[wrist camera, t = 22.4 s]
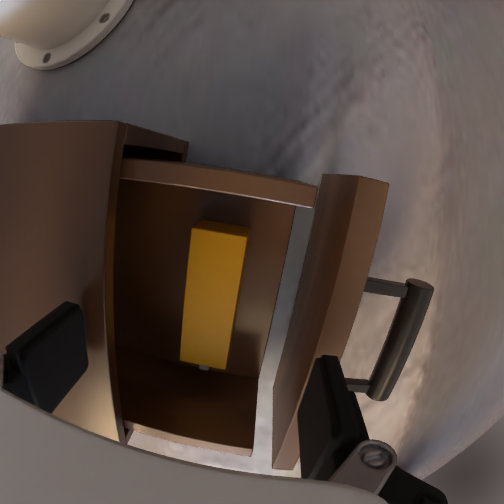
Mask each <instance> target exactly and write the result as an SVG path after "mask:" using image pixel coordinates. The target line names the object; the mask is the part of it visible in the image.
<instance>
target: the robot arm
mask: <svg viewBox="0 0 504 504" xmlns="http://www.w3.org/2000/svg"><path fill="white" fill-rule="evenodd" d="M132 2H133V0H0V36H2V37H5V38H8V39H10V40H13V41H14V47H15V51H16V55H17V56H18V58H19V60H20V61H21V62H22V63H23V64H25V65H26V66H29V67H31V68H34V69H39V70H50V69H55V68H58V67H62V66H65V65H67V64H69V63H71V62H72V61H74V60H77V59H78V58H80V57H81V56H82V55H84V54H85V53H87V52H88V51H90V50H91V49H92V48H93V47H95V46H96V45H97V44H98V43H99V42H101V41H102V40H103V39H104V38H105V37H106V36H107V35H108V34H109V33H110V32H111V31H112V30H113V29H114V27H115V26H116V25H117V24H118V22H119V21H120V20H121V19H122V18H123V16H124V15H125V13H126V12H127V10H128V9H129V7H130V6H131V4H132ZM5 348H6V352H7V353H6V354H3V353H2V351H0V504H448V502H447V499H446V496H445V495H444V494H443V493H442V492H441V491H440V490H438V489H437V488H435V487H433V486H431V485H429V484H427V483H425V482H423V481H422V480H420V479H418V478H416V477H414V476H413V475H411V474H409V473H407V472H405V471H404V470H402V469H400V468H398V467H397V466H396V463H397V455H396V453H395V451H394V449H393V448H392V447H391V446H390V445H388V444H387V443H385V442H382V441H379V440H373V439H372V440H370V439H369V436H368V433H367V429H366V426H365V423H364V420H363V417H362V413H361V410H360V407H359V404H358V401H357V398H356V395H355V393H354V392H353V391H348V387H347V384H346V381H345V378H344V375H343V372H342V368H341V365H340V362H339V359H338V357H337V356H332V355H322V356H321V357H320V358H316V359H315V362H314V365H313V368H312V371H311V374H310V377H309V380H308V383H307V386H306V388H305V391H304V394H303V397H302V400H301V403H300V405H299V408H298V412H297V422H298V435H299V449H300V463H301V478H293V477H282V476H272V475H263V474H255V473H248V472H241V471H235V470H228V469H222V468H217V467H211V466H206V465H201V464H197V463H192V462H188V461H183V460H179V459H175V458H171V457H167V456H164V455H160V454H156V453H153V452H149V451H146V450H143V449H139V448H136V447H133V446H130V445H127V444H124V443H121V442H118V441H115V440H112V439H110V438H107V437H104V436H101V435H99V434H96V433H94V432H91V431H89V430H86V429H84V428H81V427H79V426H77V425H74V424H72V423H70V422H67V421H65V420H63V419H61V418H59V417H57V416H54V415H52V413H53V411H54V410H55V409H56V407H57V406H58V405H59V404H60V402H61V401H62V400H63V399H64V397H65V396H66V395H67V394H68V392H69V391H70V390H71V389H72V388H73V386H74V385H75V384H76V383H77V381H78V380H79V379H80V378H81V377H82V375H83V374H84V373H85V372H86V370H87V369H88V365H89V361H88V354H87V346H86V338H85V328H84V318H83V311H82V309H80V306H79V305H78V304H75V303H72V302H69V301H65V302H63V303H62V304H61V305H59V306H58V307H57V308H55V309H54V310H53V311H51V312H50V313H49V314H47V315H46V316H45V317H43V318H42V319H41V320H39V321H38V322H37V323H35V324H34V325H33V326H31V327H30V328H29V329H27V330H26V331H25V332H24V333H22V334H21V335H20V336H18V337H17V338H16V339H15V340H13V341H12V342H11V343H10V344H8V345H7V346H6V347H5Z"/></svg>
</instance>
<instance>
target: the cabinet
mask: <svg viewBox="0 0 504 504" xmlns="http://www.w3.org/2000/svg"><path fill="white" fill-rule="evenodd" d="M188 144H189V142H187V141H184V140H181V139H177V138H174V137H171V136H168V135H165V134H162V133H158V132H155V131H152V130H149V129H145V128H142V127H138V126H135V125H131V124H128V123H124V122H121V121H112V120H68V121H42V122H27V123H14V124H4V125H0V351H2V353H3V354H6V353H7V352H6V348H5V347H6V346H7V345H8V344H10V343H11V342H12V341H13V340H15V339H16V338H17V337H18V336H20V335H21V334H22V333H24V332H25V331H26V330H27V329H29V328H30V327H31V326H33V325H34V324H35V323H37V322H38V321H39V320H41V319H42V318H43V317H45V316H46V315H47V314H49V313H50V312H51V311H53V310H54V309H55V308H57V307H58V306H59V305H61V304H62V303H63V302H65V301H69V302H72V303H75V304H78V305H79V306H80V309H82V311H83V318H84V328H85V338H86V346H87V354H88V361H89V365H88V369H87V370H86V372H85V373H84V374H83V375H82V377H81V378H80V379H79V380H78V381H77V383H76V384H75V385H74V386H73V388H72V389H71V390H70V391H69V392H68V394H67V395H66V396H65V397H64V399H63V400H62V401H61V402H60V404H59V405H58V406H57V407H56V409H55V410H54V411H53V413H52V415H54V416H57V417H59V418H61V419H63V420H65V421H67V422H70V423H72V424H74V425H77V426H79V427H81V428H84V429H86V430H89V431H91V432H94V433H96V434H99V435H101V436H104V437H107V438H110V439H112V440H115V441H118V442H121V443H124V444H127V443H128V441H129V439H130V437H131V435H132V433H133V431H134V430H131V429H128V428H125V427H124V426H123V420H122V413H121V405H120V397H119V388H118V379H117V368H116V355H115V339H114V314H113V263H114V238H115V221H116V208H117V197H118V187H119V178H120V169H121V162H122V156H131V157H142V158H152V159H161V160H170V161H179V162H186V157H187V150H188Z"/></svg>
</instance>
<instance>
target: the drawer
mask: <svg viewBox="0 0 504 504" xmlns="http://www.w3.org/2000/svg"><path fill="white" fill-rule="evenodd" d="M388 189H389V183H386V182H383V181H379V180H375V179H371V178H367V177H363V176H357V175H341V174H322V179H321V184H320V190H319V195H318V200H317V205H316V210H315V215H314V220H313V225H312V229H311V234H310V239H309V244H308V248H307V253H306V257H305V262H304V266H303V271H302V275H301V279H300V284H299V288H298V292H297V296H296V301H295V305H294V309H293V313H292V317H291V321H290V325H289V329H288V333H287V337H286V341H285V345H284V348H283V352H282V356H281V360H280V363H279V367H278V371H277V374H276V378H275V382H274V385H273V435H272V469H280V470H293V468H294V466H295V464H296V462H297V460H298V458H299V456H300V449H299V435H298V422H297V412H298V408H299V405H300V403H301V400H302V397H303V394H304V391H305V388H306V386H307V383H308V380H309V377H310V374H311V371H312V368H313V365H314V362H315V359H316V358H320V357H321V356H322V355H332V356H337V357H338V359H339V362H340V360H341V358H342V355H343V352H344V349H345V346H346V344H347V341H348V338H349V335H350V332H351V329H352V326H353V323H354V320H355V317H356V314H357V311H358V307H359V304H360V301H361V298H362V294H363V292H369V293H375V294H382V295H388V296H394V297H401V298H400V301H399V304H398V307H397V310H396V313H395V316H394V319H393V321H392V324H391V327H390V329H389V332H388V335H387V337H386V340H385V342H384V345H383V348H382V350H381V353H380V355H379V357H378V360H377V362H376V365H375V367H374V369H373V372H372V374H371V376H370V378H369V381H368V380H367V379H352V378H345V381H346V384H347V387H348V391H353V392H361V393H366V395H367V396H368V397H369V398H371V399H373V400H376V401H385V400H387V399H388V398H389V396H390V394H391V392H392V390H393V388H394V386H395V384H396V382H397V380H398V378H399V376H400V374H401V372H402V369H403V367H404V365H405V363H406V361H407V358H408V356H409V354H410V352H411V349H412V347H413V345H414V342H415V340H416V337H417V335H418V333H419V330H420V327H421V325H422V322H423V320H424V317H425V314H426V312H427V309H428V306H429V303H430V301H431V298H432V295H433V292H434V287H433V286H432V285H430V284H429V283H426V282H424V281H421V280H418V279H413V278H409V279H407V280H406V283H405V284H404V283H400V282H394V281H388V280H382V279H377V278H371V277H368V273H369V270H370V266H371V263H372V259H373V255H374V251H375V247H376V243H377V239H378V235H379V231H380V226H381V222H382V218H383V213H384V209H385V204H386V199H387V194H388ZM317 190H318V188H317V187H316V186H313V185H310V184H307V183H304V182H301V181H298V180H293V179H288V178H283V177H277V176H272V175H266V174H261V173H255V172H249V171H243V170H236V169H230V168H223V167H216V166H209V165H202V164H195V163H187V162H179V161H170V160H161V159H152V158H142V157H131V156H122V162H121V169H120V178H119V187H118V197H117V208H116V221H115V238H114V263H113V314H114V339H115V355H116V368H117V379H118V388H119V397H120V405H121V413H122V420H123V426H124V427H125V428H128V429H131V430H134V431H137V432H140V433H143V434H147V435H150V436H154V437H157V438H161V439H164V440H168V441H172V442H176V443H180V444H184V445H188V446H193V447H197V448H202V449H207V450H212V451H217V452H223V453H229V454H235V455H241V456H248V457H251V455H252V452H253V446H254V433H255V420H256V407H257V393H258V379H259V375H260V370H261V366H262V362H263V358H264V353H265V349H266V345H267V340H268V336H269V332H270V327H271V323H272V318H273V314H274V309H275V305H276V300H277V295H278V291H279V286H280V281H281V277H282V272H283V267H284V262H285V258H286V253H287V248H288V243H289V238H290V233H291V228H292V223H293V218H294V212H295V207H296V206H300V207H305V208H310V209H312V208H314V206H315V200H316V195H317ZM202 220H207V221H213V222H219V223H225V224H231V225H237V226H243V227H248V228H250V229H251V230H250V236H249V241H248V247H247V253H246V259H245V265H244V271H243V277H242V283H241V289H240V295H239V301H238V307H237V313H236V319H235V325H234V332H233V338H232V344H231V349H230V354H229V358H228V363H227V367H226V369H225V370H224V369H219V368H213V367H209V370H208V371H207V370H202V369H199V364H194V363H190V362H185V361H181V360H180V346H181V331H182V318H183V306H184V295H185V285H186V274H187V265H188V256H189V247H190V238H191V230H192V227H194V226H195V225H196V224H198V223H199V222H200V221H202Z"/></svg>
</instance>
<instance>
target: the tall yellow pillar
mask: <svg viewBox="0 0 504 504" xmlns="http://www.w3.org/2000/svg"><path fill="white" fill-rule="evenodd" d="M250 230H251V229H250V228H248V227H243V226H237V225H231V224H225V223H219V222H213V221H207V220H202V221H200V222H199V223H198V224H196V225H195V226H194V227H192V230H191V238H190V247H189V256H188V265H187V274H186V285H185V295H184V306H183V318H182V331H181V346H180V360H181V361H185V362H190V363H194V364H199V369H202V370H207V371H208V370H209V367H213V368H219V369H224V370H225V369H226V367H227V363H228V358H229V354H230V349H231V344H232V338H233V332H234V325H235V319H236V313H237V307H238V301H239V295H240V289H241V283H242V277H243V271H244V265H245V259H246V253H247V247H248V241H249V236H250Z"/></svg>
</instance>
